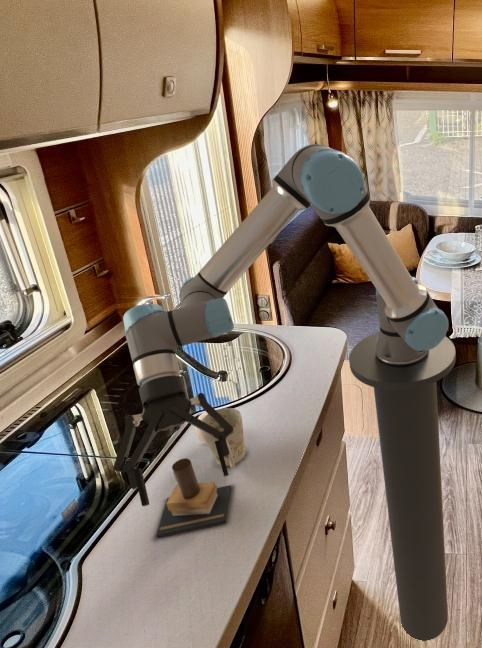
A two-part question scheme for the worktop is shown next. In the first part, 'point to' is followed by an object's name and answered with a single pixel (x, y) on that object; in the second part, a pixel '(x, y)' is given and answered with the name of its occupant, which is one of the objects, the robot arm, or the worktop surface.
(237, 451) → the mug
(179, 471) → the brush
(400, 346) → the robot arm
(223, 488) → the counter mat
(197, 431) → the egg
